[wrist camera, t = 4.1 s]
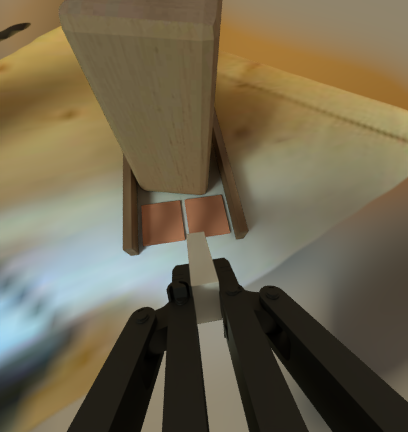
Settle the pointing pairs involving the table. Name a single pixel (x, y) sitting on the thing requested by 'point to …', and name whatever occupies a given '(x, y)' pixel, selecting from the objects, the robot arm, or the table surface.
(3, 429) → the table surface
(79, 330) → the table surface
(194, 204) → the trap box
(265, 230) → the table surface
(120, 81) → the wooden block
